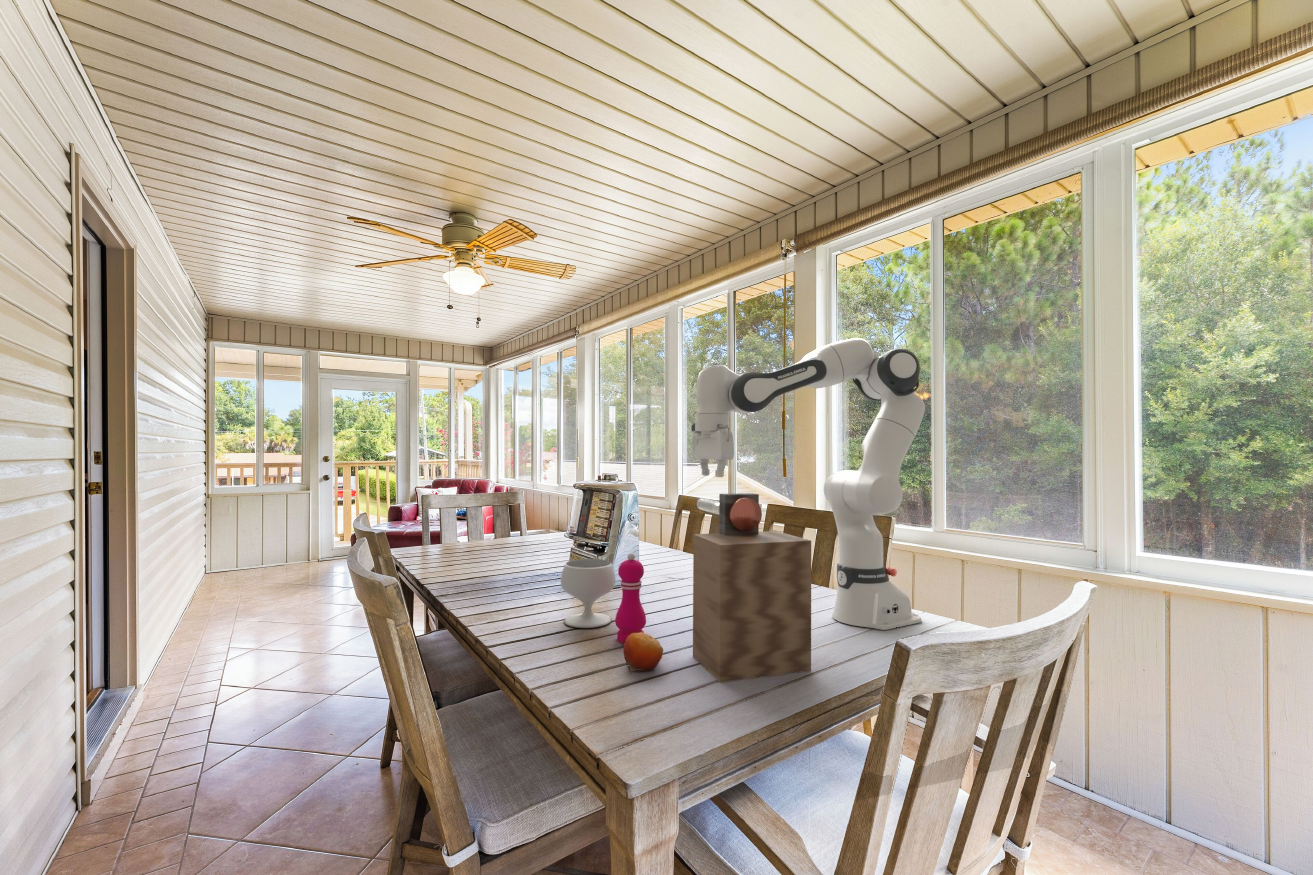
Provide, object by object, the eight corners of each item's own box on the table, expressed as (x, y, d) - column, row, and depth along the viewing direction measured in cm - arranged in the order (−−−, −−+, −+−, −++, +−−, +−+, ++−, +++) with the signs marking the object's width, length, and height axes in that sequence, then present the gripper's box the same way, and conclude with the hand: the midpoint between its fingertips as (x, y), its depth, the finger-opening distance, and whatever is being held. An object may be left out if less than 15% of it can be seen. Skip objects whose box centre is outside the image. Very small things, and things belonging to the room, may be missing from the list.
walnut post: (775, 646, 125) (776, 492, 126) (811, 670, 112) (811, 497, 113) (692, 656, 119) (693, 494, 120) (719, 682, 106) (720, 499, 107)
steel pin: (714, 517, 142) (714, 489, 143) (761, 530, 119) (761, 497, 119) (689, 518, 140) (689, 490, 141) (731, 532, 117) (732, 498, 117)
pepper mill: (647, 634, 133) (648, 550, 133) (644, 645, 126) (644, 556, 126) (617, 633, 133) (618, 549, 134) (612, 644, 126) (613, 555, 127)
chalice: (569, 612, 151) (570, 556, 151) (620, 615, 149) (620, 558, 149) (552, 629, 137) (553, 567, 137) (608, 632, 135) (609, 569, 135)
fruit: (608, 657, 114) (628, 621, 116) (639, 672, 117) (657, 637, 118) (622, 672, 107) (642, 633, 109) (654, 688, 109) (673, 650, 111)
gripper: (740, 423, 142) (740, 478, 142) (708, 426, 162) (708, 474, 161) (717, 423, 140) (717, 478, 140) (688, 426, 160) (688, 474, 159)
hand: (712, 476), depth 151 cm, fingers open, 8 cm apart
